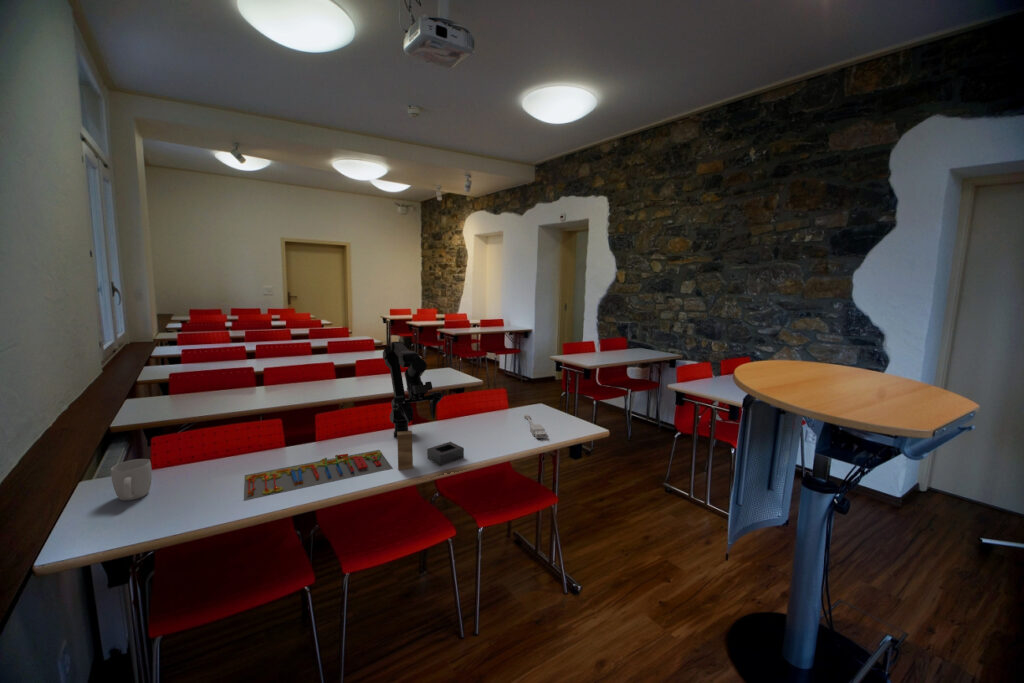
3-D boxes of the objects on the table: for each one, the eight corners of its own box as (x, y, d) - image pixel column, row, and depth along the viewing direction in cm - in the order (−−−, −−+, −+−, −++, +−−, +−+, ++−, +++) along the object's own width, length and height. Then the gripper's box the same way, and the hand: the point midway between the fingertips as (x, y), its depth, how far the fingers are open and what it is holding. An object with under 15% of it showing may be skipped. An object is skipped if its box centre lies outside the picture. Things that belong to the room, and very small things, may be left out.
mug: (118, 493, 130) (114, 462, 129) (155, 486, 135) (152, 456, 134) (107, 512, 120) (103, 478, 118) (148, 503, 125) (145, 471, 123)
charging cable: (530, 418, 212) (530, 411, 212) (547, 439, 180) (547, 431, 180) (520, 418, 211) (521, 412, 211) (535, 439, 180) (535, 432, 179)
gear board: (379, 445, 166) (392, 463, 150) (379, 451, 167) (392, 470, 150) (244, 469, 143) (243, 494, 127) (244, 476, 144) (243, 502, 127)
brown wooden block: (398, 466, 152) (397, 431, 150) (412, 464, 154) (411, 430, 152) (398, 469, 149) (397, 434, 148) (412, 468, 151) (412, 433, 149)
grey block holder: (427, 458, 159) (427, 448, 158) (450, 451, 166) (450, 441, 166) (440, 466, 153) (440, 455, 152) (463, 458, 160) (463, 448, 160)
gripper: (394, 376, 152) (401, 418, 147) (442, 372, 162) (451, 410, 156) (388, 388, 161) (394, 427, 155) (434, 382, 170) (442, 419, 165)
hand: (421, 421), depth 158 cm, fingers open, 9 cm apart
